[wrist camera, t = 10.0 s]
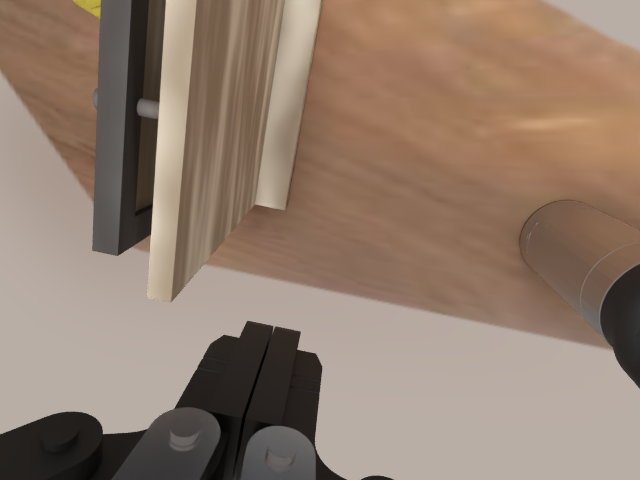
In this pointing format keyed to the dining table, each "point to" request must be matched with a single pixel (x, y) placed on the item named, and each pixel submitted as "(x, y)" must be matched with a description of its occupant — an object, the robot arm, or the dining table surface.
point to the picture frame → (126, 122)
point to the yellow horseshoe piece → (90, 6)
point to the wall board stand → (223, 124)
